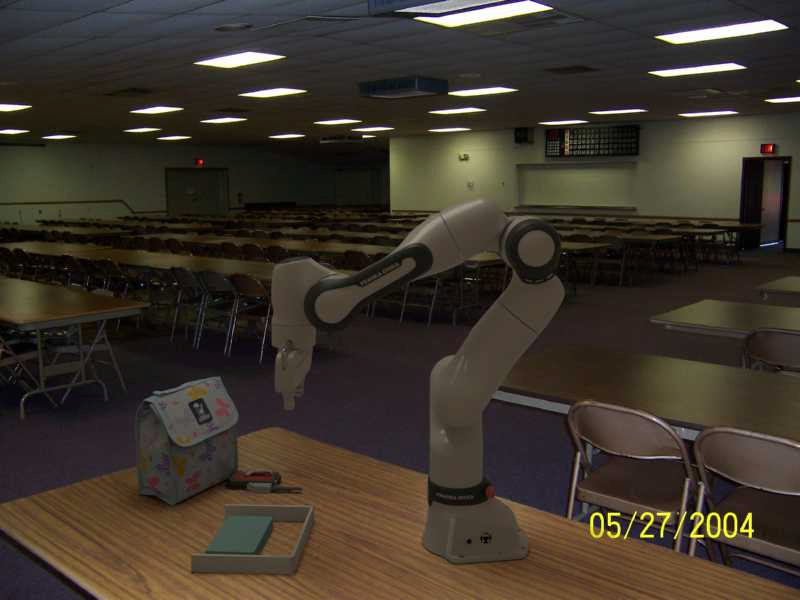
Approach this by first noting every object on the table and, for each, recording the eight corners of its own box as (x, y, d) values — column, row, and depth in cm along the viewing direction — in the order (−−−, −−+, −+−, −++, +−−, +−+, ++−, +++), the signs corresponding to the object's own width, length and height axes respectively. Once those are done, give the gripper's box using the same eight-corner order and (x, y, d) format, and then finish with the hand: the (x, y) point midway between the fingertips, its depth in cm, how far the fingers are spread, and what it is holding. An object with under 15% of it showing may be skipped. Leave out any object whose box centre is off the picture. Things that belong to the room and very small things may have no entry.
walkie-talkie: (221, 494, 178) (301, 496, 176) (221, 477, 177) (301, 479, 176) (232, 480, 186) (308, 482, 185) (231, 464, 186) (308, 465, 184)
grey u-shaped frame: (314, 520, 162) (313, 505, 162) (294, 574, 139) (293, 557, 139) (225, 518, 163) (225, 504, 163) (191, 571, 140) (190, 555, 140)
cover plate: (273, 529, 159) (273, 516, 159) (254, 566, 143) (254, 552, 143) (229, 528, 160) (228, 515, 159) (205, 564, 144) (204, 550, 144)
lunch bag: (178, 511, 167) (172, 401, 163) (131, 495, 176) (125, 390, 172) (247, 478, 186) (243, 379, 182) (201, 466, 195) (197, 371, 191)
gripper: (299, 347, 135) (299, 418, 137) (317, 327, 155) (317, 389, 157) (266, 346, 135) (267, 417, 138) (288, 326, 156) (288, 388, 158)
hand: (294, 402), depth 148 cm, fingers open, 8 cm apart
